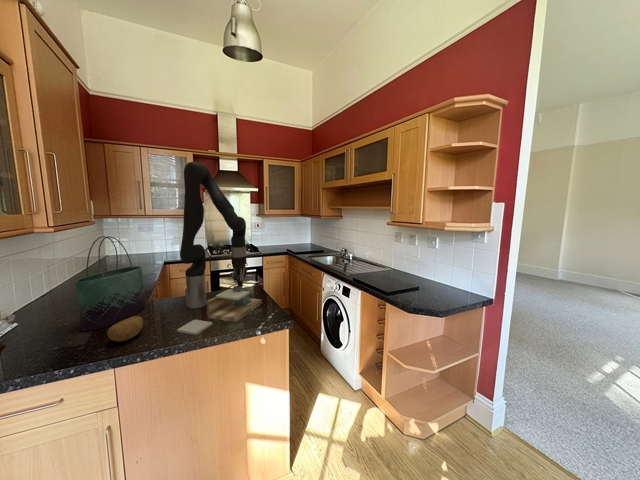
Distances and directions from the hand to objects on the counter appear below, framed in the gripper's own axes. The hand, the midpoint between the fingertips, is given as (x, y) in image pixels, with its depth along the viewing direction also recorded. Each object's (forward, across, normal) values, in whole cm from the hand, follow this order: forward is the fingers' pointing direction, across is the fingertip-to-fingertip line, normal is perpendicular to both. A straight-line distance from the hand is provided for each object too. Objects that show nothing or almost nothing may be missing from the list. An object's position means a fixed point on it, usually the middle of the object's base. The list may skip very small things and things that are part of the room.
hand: (240, 287), depth 135 cm
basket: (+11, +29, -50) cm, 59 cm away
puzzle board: (+11, +4, 0) cm, 12 cm away
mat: (+11, +26, -6) cm, 29 cm away
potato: (+11, +41, -26) cm, 50 cm away
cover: (+2, +6, 0) cm, 7 cm away
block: (+11, -1, 0) cm, 11 cm away
